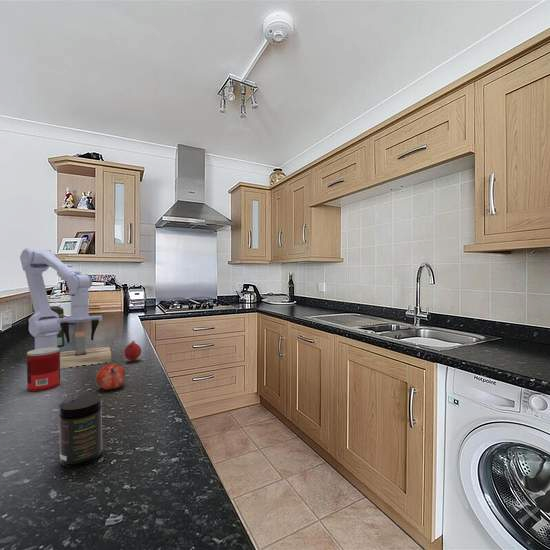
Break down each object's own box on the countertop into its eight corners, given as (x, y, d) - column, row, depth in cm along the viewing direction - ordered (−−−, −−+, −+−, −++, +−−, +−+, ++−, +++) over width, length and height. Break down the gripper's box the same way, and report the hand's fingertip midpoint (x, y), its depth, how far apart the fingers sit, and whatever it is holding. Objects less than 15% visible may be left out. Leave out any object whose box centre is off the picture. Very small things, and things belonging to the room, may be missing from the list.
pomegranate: (94, 395, 91) (93, 383, 84) (99, 371, 96) (98, 358, 89) (122, 394, 94) (123, 382, 87) (125, 371, 99) (126, 358, 92)
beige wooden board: (50, 361, 120) (50, 353, 120) (109, 353, 130) (108, 346, 130) (46, 371, 108) (46, 362, 108) (111, 361, 118) (111, 354, 118)
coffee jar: (43, 345, 146) (42, 306, 146) (63, 342, 151) (62, 304, 151) (44, 349, 138) (43, 307, 138) (65, 346, 143) (64, 306, 143)
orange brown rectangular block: (75, 351, 120) (75, 332, 120) (85, 350, 122) (85, 331, 122) (75, 354, 116) (75, 334, 116) (85, 353, 117) (85, 333, 117)
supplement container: (110, 452, 59) (110, 397, 59) (74, 473, 53) (73, 412, 53) (88, 444, 62) (87, 392, 62) (51, 463, 56) (50, 405, 55)
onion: (134, 364, 115) (134, 342, 115) (120, 363, 116) (120, 342, 116) (144, 359, 121) (144, 339, 121) (131, 359, 122) (130, 338, 122)
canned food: (66, 383, 95) (65, 348, 95) (39, 393, 88) (38, 354, 88) (48, 380, 98) (48, 346, 98) (20, 390, 90) (20, 352, 90)
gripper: (55, 308, 111) (56, 345, 112) (102, 305, 119) (102, 340, 119) (57, 306, 117) (58, 341, 118) (101, 303, 125) (101, 337, 125)
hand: (80, 341), depth 119 cm, fingers open, 7 cm apart
